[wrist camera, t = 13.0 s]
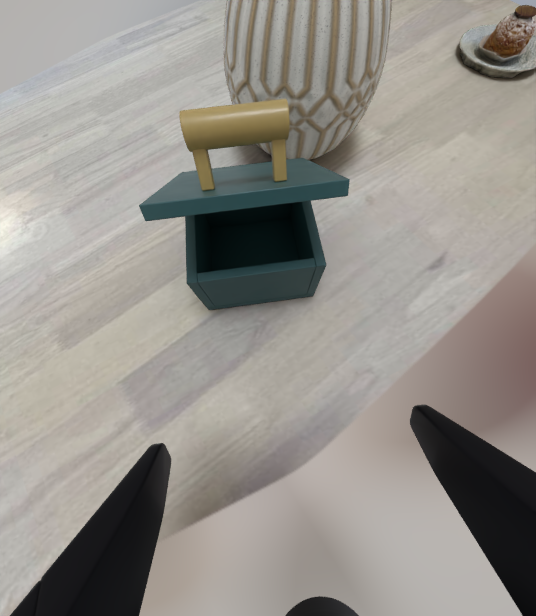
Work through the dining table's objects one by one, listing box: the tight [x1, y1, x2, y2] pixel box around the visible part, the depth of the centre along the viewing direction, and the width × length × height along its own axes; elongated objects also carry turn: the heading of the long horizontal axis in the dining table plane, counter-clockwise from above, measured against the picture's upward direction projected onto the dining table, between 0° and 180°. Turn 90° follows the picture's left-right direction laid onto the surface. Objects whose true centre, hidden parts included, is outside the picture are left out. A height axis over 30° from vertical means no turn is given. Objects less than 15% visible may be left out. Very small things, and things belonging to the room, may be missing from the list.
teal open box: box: [185, 201, 326, 310], centre depth 22 cm, size 10×11×6 cm
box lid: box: [139, 99, 349, 221], centre depth 15 cm, size 11×11×4 cm
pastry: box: [460, 5, 536, 78], centre depth 34 cm, size 12×12×5 cm
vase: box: [224, 0, 392, 160], centre depth 22 cm, size 16×16×20 cm
